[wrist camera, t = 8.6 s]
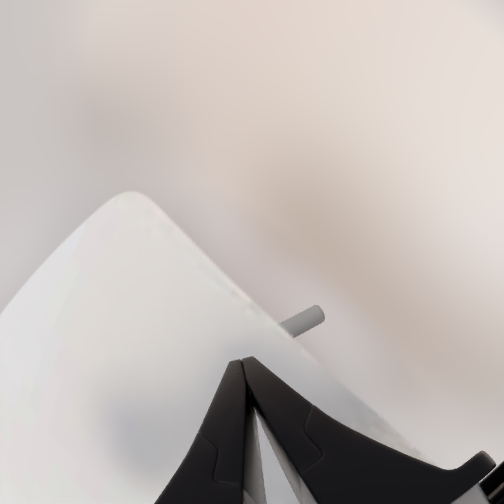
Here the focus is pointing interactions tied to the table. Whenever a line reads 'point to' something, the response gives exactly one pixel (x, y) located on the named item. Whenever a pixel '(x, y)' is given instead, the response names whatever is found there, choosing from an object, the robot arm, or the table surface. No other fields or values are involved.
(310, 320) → the beverage can
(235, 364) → the robot arm
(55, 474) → the table surface
